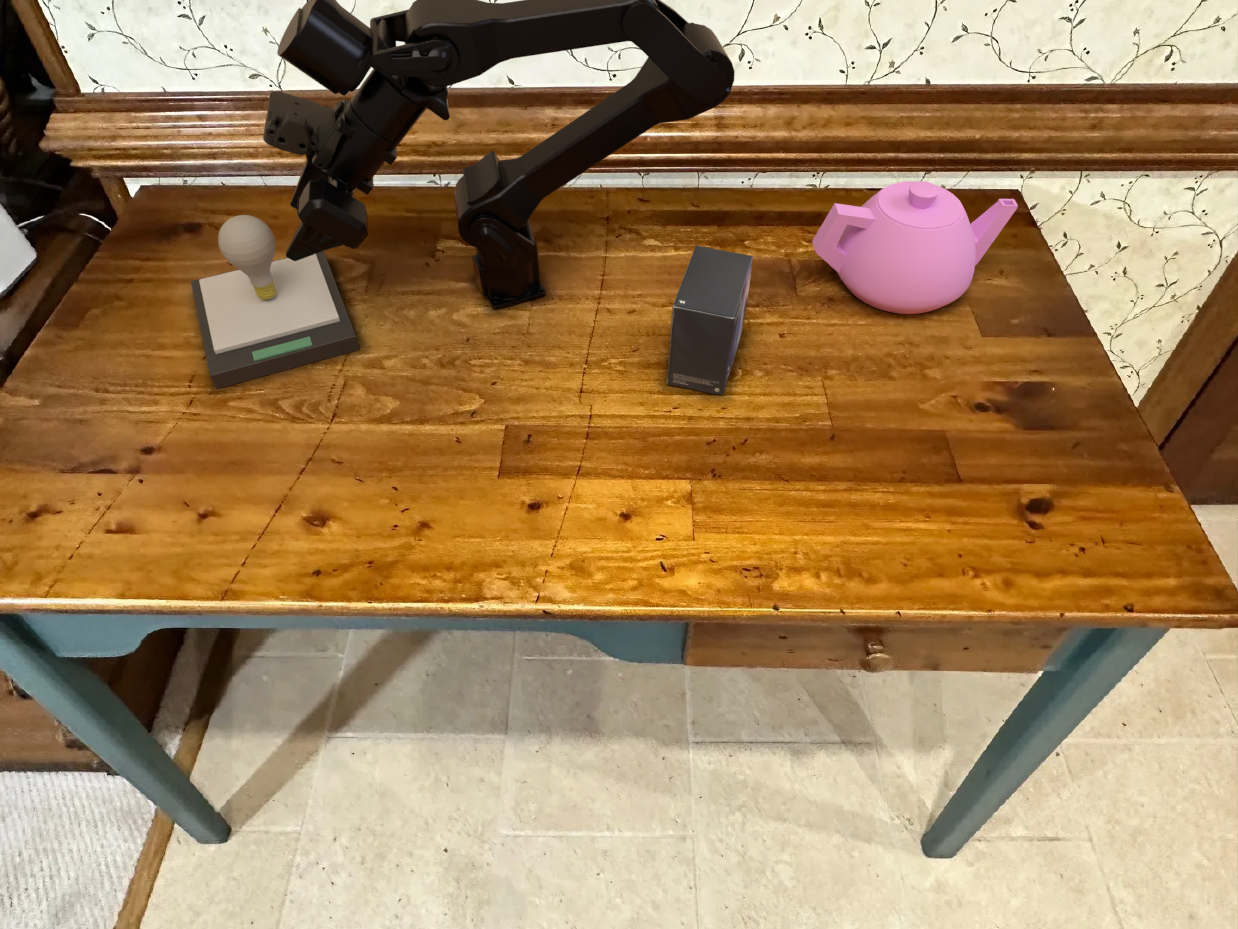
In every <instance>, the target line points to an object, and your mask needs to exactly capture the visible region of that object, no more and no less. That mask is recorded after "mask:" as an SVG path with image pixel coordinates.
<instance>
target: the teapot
mask: <svg viewBox="0 0 1238 929" xmlns="http://www.w3.org/2000/svg"><path fill="white" fill-rule="evenodd" d="M1018 207H1019V205H1018V203H1017V201H1016V200H1015V198H998V199H997V201H996V202H995V203H993V205H992V206H990V207H989V208H987V209H986V211H985V212H983V213H982V214H981V215H979V216H978V217H977V218H976V219H975V220H973V221H972V222H971V223H970V220H969V217H968V213H967V212H966V209H965V208H964V205H963V203H962V202H961V201H960V199H959V198H958V197H957V196H956V194H955V195H954V194H953V193H952V192H951V191H949V190H948V189H946V188H944V187H942V186H939V185H937V184H934V183H933V182H930V181H924V180H919V181H918V180H917V181H914V180H913V181H912V180H911V181H909V180H907V181H899V182H896V183H891V184H889V185H887V186H885V187H883V188H881V189H880V190H879V191H877V192H876V193H875V194H873V195H872V196H871V197H870V198H869V199H868V200H867V201H866V202H864V203H863V204H862V205H861V206H856V205H849V204H843V203H836V202H834V204H833V205H832V206H831V208H830V210H829V212H828V213H827V215H826V217H825V218H824V220H823V222H822V224H821V225H820V227H819V229H818V230H817V232H816V234H815V236H814V237H813V239H812V240H811V241H812V246H813V249H814V252H815V254H817V255H818V256H819V258H821V259H822V260H823V261H824V262H826V263H827V264H828V265H829V266H830V267H831V268H832V269H833V270H835V271H836V273H837V275H838V276H839V278H840V281H842V283H843V284H844V285H845V286H846V288H847V289H848V290H849V291H850V292H851V293H852V294H853V296H854V297H856V298H857V299H858V300H860V301H861V302H863V303H865V304H866V305H869V306H871V307H872V308H876V309H878V310H880V311H884V312H888V313H894V314H899V315H900V314H903V315H916V314H924V313H928V312H933V311H935V310H938V309H940V308H943V307H945V306H947V305H950V304H951V303H953V302H955V301H956V300H959V298H961V297H962V296H963V295H964V294H965V293H966V291H967V290H968V289H969V287H970V285H971V283H972V281H973V277H974V275H975V269H976V268H975V267H976V265H978V264H979V263H980V261H981V260H982V258H983V257H984V255H985V254H986V253H987V251H988V250H989V249H990V247H991V245H993V243H994V242H995V240H996V239H997V237H998V236H999V234H1000V233H1001V232H1002V230H1003V229H1004V228H1005V226H1006V225H1007V223H1008V222H1009V221H1010V219H1011V217H1012V216H1013V215H1014V213H1015V212H1016V211H1017V209H1018Z"/></svg>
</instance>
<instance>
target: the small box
mask: <svg viewBox="0 0 1238 929" xmlns="http://www.w3.org/2000/svg"><path fill="white" fill-rule="evenodd" d="M689 259H690V260H689V262H688V265H687V268H686V270H685V272H684V275H683V276H682V280H681V283H680V286H679V288H678V291H677V294H676V295H675V296H676V297H675V299H674V301H673V304H672V308H671V311H672V312H671V321H670V323H671V324H670V336H669V350H668V351H669V352H668V362H667V371H666V380H665V383H666V384H667V385H669V386H672V387H678V388H684V389H688V390H689V389H690V390H694V391H699V392H703V393H706V394H707V393H708V394H711V395H717V396H723V395H724V392H725V391H726V390H725V389H726V387H727V383H728V380H729V377H730V373H731V370H732V367H733V365H734V361H735V357H736V355H737V351H738V348H739V345H740V340H741V336H742V333H743V329H744V324H745V318H746V317H745V316H746V312H747V305H748V298H749V291H750V285H751V284H750V283H751V278H752V269H753V260H754V256H753V255H749V254H745V253H744V254H743V253H738V252H733V251H728V250H722V249H717V248H711V247H706V246H702V245H695V247H694V250H693V252H692V254H691V257H690V258H689Z"/></svg>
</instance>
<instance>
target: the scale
mask: <svg viewBox="0 0 1238 929" xmlns="http://www.w3.org/2000/svg"><path fill="white" fill-rule="evenodd" d="M270 272H271V275H272V277H273V284H274V286H275V289H276V295H275V296H274V297H273V298H271V299H267V300H264V299H260V298H259V297H258V296H257V294H256V291H255V289H254V287H253V285H252V284H251V282H250V279H249V277H248V276H247V275H246V274H245V273H243V272H242V271H241V270H239V269H238V268H237V269H234V270H230V271H227V272H221V273H218V274H214V275H210V276H206V277H202V278H198V279H193V280H190V286H191V290H192V295H193V300H194V305H195V311H196V316H197V320H198V325H199V329H200V334H201V340H202V344H203V349H204V353H205V354H204V355H205V358H206V364H207V369H208V373H209V377H210V379H211V381H212V383H213V386H214V387H215V389H216V390H220V389H223V388H226V387H230V386H234V385H237V384H241V383H244V382H248V381H253V380H257V379H260V378H262V377H263V378H264V377H266V376H270V375H273V374H277V373H281V372H285V371H288V370H291V369H292V370H293V369H296V368H299V367H303V366H306V365H310V364H313V363H317V362H321V361H325V360H328V359H331V358H335V357H339V356H342V355H346V354H350V353H353V352H356V351H360V345H359V341H358V338H357V335H356V332H355V330H354V327H353V324H352V322H351V319H350V316H349V314H348V312H347V309H346V306H345V304H344V301H343V298H342V295H341V292H340V291H339V290H340V289H339V288H338V284H337V282H336V280H335V277H334V274H333V271H332V269H331V266H330V263H329V261H328V258H327V255H326V253H325V251H322V252H319V253H317V254H314V255H311V256H309V257H306V258H303V259H300V260H298V261H293V260H291V259H289V258H287V257H284V258H279V259H275V260H272V263H271V267H270Z"/></svg>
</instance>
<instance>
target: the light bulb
mask: <svg viewBox="0 0 1238 929" xmlns="http://www.w3.org/2000/svg"><path fill="white" fill-rule="evenodd" d="M217 235H218V236H217V243H218V244H217V245H218V248H219V250H220V253H221V255H222V256H223V257H224V259H225V260H226V261H227V262H228V263H229V264H230V265H232V266H233V267H234V268H236V269H237V270H238V269H239V270H241V271H242V272H243V273H245V274H246V275H247V276H248V277H249V279H250V282H251V284H252V285H253V287H254V289H255V291H256V294H257V296H258V297H259V298H260V299H264V300H267V299H271V298H273V297H274V296H275V295H276V289H275V286H274V284H273V277H272V275H271V272H270V267H271V263H272V261H274V260H273V259H274V256H275V252H276V247H277V246H276V238H275V236H274V233H273V231H272V229H271V228H270V227H269V225H268V224H266V222H264V221H263V220H262V219H260V218H258V217H256V216H254V215H250V214H238V215H235V216H232V217H230V218H229V219H227V220H226V221H225V222H223V224H222V225H221V227H220V229H219V231H218V234H217Z"/></svg>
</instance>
